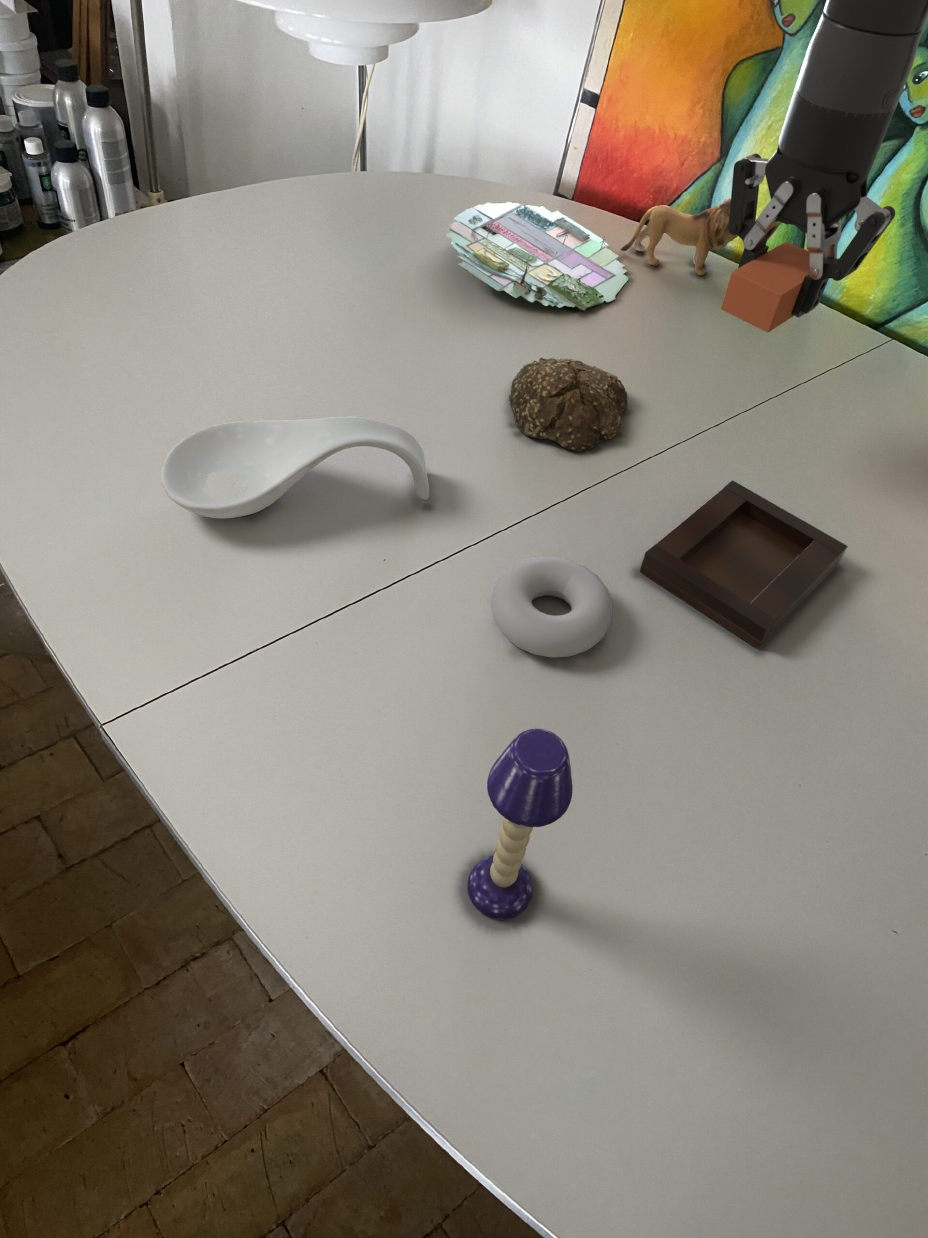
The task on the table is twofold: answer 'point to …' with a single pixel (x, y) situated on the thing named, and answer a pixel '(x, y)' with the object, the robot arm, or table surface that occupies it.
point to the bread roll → (567, 403)
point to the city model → (536, 255)
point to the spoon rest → (274, 458)
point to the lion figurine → (685, 231)
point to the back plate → (743, 562)
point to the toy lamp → (520, 817)
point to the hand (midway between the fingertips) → (772, 299)
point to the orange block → (767, 287)
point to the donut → (547, 630)
